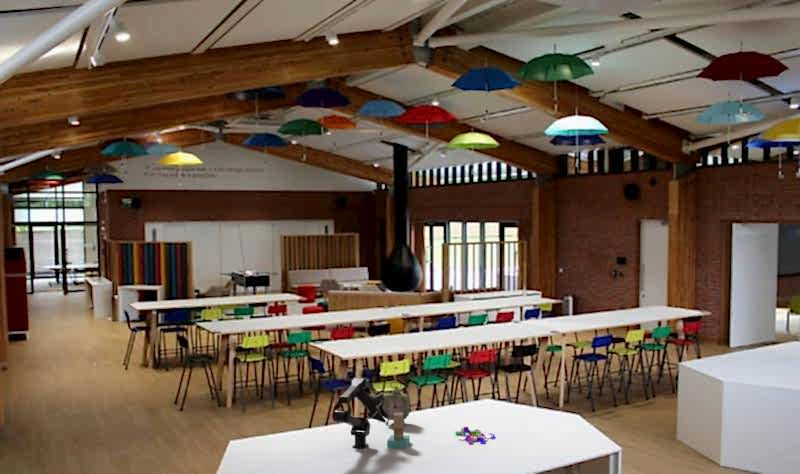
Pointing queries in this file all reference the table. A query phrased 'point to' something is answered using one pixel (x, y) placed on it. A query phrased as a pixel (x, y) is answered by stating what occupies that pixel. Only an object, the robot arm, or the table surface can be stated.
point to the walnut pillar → (398, 426)
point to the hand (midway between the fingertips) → (386, 419)
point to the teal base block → (398, 442)
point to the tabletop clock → (396, 404)
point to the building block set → (470, 438)
